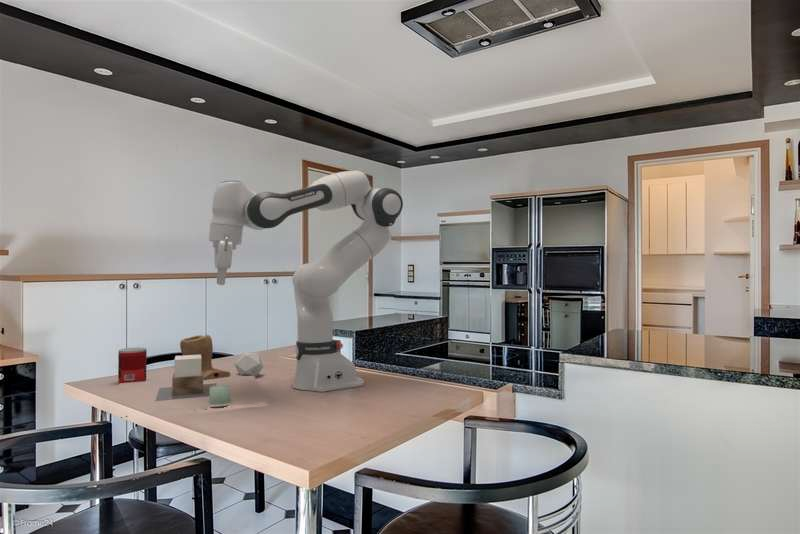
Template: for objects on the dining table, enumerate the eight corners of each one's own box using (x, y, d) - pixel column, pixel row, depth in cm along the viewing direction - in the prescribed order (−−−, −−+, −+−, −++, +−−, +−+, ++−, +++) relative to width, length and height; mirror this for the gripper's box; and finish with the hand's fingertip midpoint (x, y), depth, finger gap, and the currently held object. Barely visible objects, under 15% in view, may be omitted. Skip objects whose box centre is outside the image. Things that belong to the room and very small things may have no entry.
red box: (151, 382, 158) (151, 348, 158) (126, 386, 151) (126, 351, 152) (138, 379, 162) (138, 346, 162) (113, 383, 155) (113, 349, 156)
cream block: (201, 371, 145) (201, 354, 145) (201, 375, 139) (201, 358, 139) (175, 373, 142) (175, 356, 142) (174, 377, 136) (174, 359, 136)
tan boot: (172, 380, 161) (173, 335, 161) (205, 374, 170) (205, 331, 171) (199, 386, 152) (199, 338, 152) (231, 379, 162) (231, 334, 162)
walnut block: (202, 387, 146) (202, 370, 146) (203, 393, 138) (203, 375, 138) (173, 389, 142) (173, 372, 143) (172, 396, 135) (172, 378, 135)
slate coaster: (216, 387, 151) (216, 383, 151) (218, 399, 136) (218, 395, 136) (159, 392, 145) (159, 388, 145) (155, 405, 130) (155, 401, 130)
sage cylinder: (228, 402, 133) (228, 384, 133) (229, 407, 128) (229, 388, 128) (209, 404, 131) (209, 386, 131) (209, 409, 126) (209, 390, 126)
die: (247, 382, 160) (265, 357, 163) (225, 368, 161) (244, 343, 165) (254, 386, 168) (271, 361, 171) (233, 372, 169) (251, 348, 173)
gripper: (239, 235, 130) (234, 286, 129) (235, 240, 148) (230, 284, 148) (214, 232, 127) (209, 284, 126) (213, 237, 146) (208, 283, 145)
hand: (220, 284), depth 137 cm, fingers open, 8 cm apart
